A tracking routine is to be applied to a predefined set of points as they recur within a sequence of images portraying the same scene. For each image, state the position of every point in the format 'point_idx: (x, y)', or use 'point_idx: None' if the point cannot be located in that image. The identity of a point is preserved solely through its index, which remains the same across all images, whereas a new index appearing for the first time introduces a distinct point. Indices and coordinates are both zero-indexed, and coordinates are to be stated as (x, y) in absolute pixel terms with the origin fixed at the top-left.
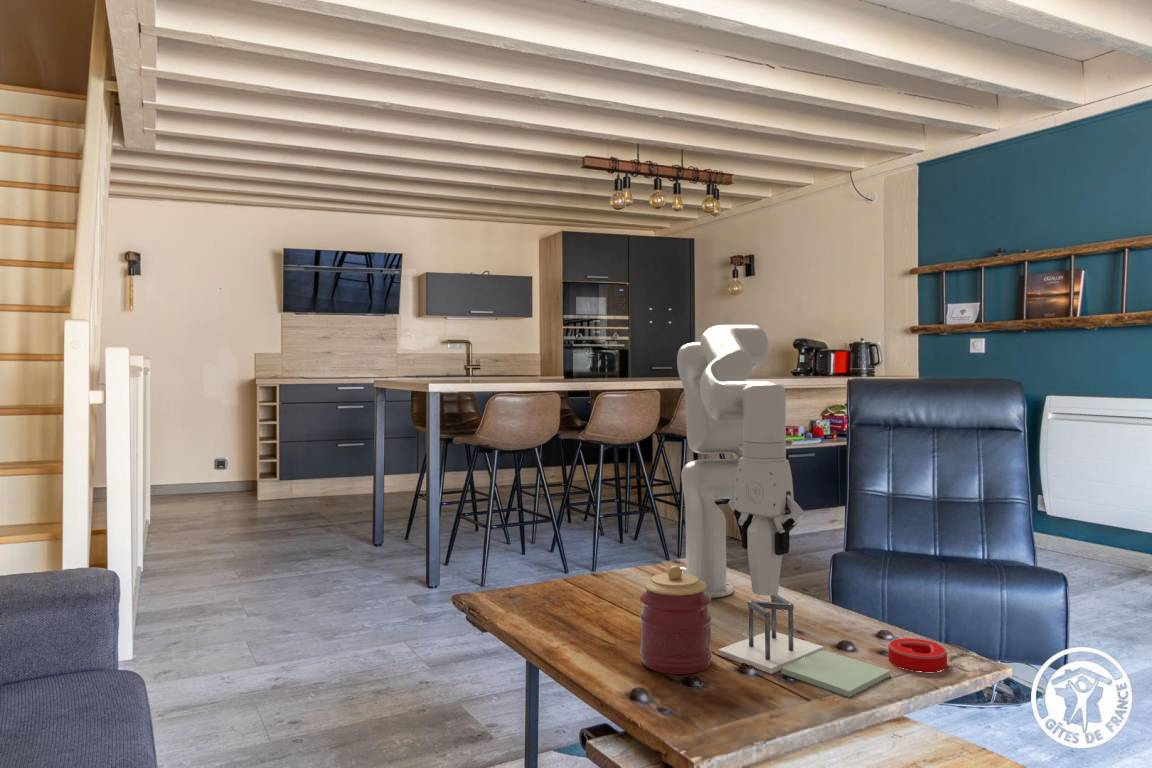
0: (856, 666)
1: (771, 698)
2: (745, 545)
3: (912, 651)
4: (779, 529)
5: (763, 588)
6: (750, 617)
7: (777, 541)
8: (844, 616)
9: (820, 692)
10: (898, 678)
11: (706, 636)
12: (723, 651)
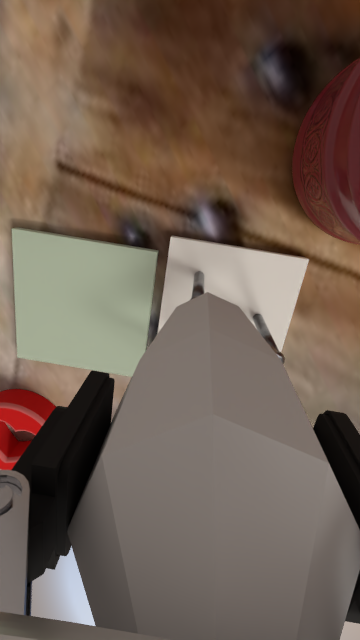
0: (63, 341)
1: (111, 118)
2: (324, 419)
3: (5, 420)
4: (10, 501)
5: (191, 303)
6: (267, 339)
7: (66, 417)
8: None
9: (62, 214)
10: (10, 352)
11: (313, 156)
12: (293, 257)
